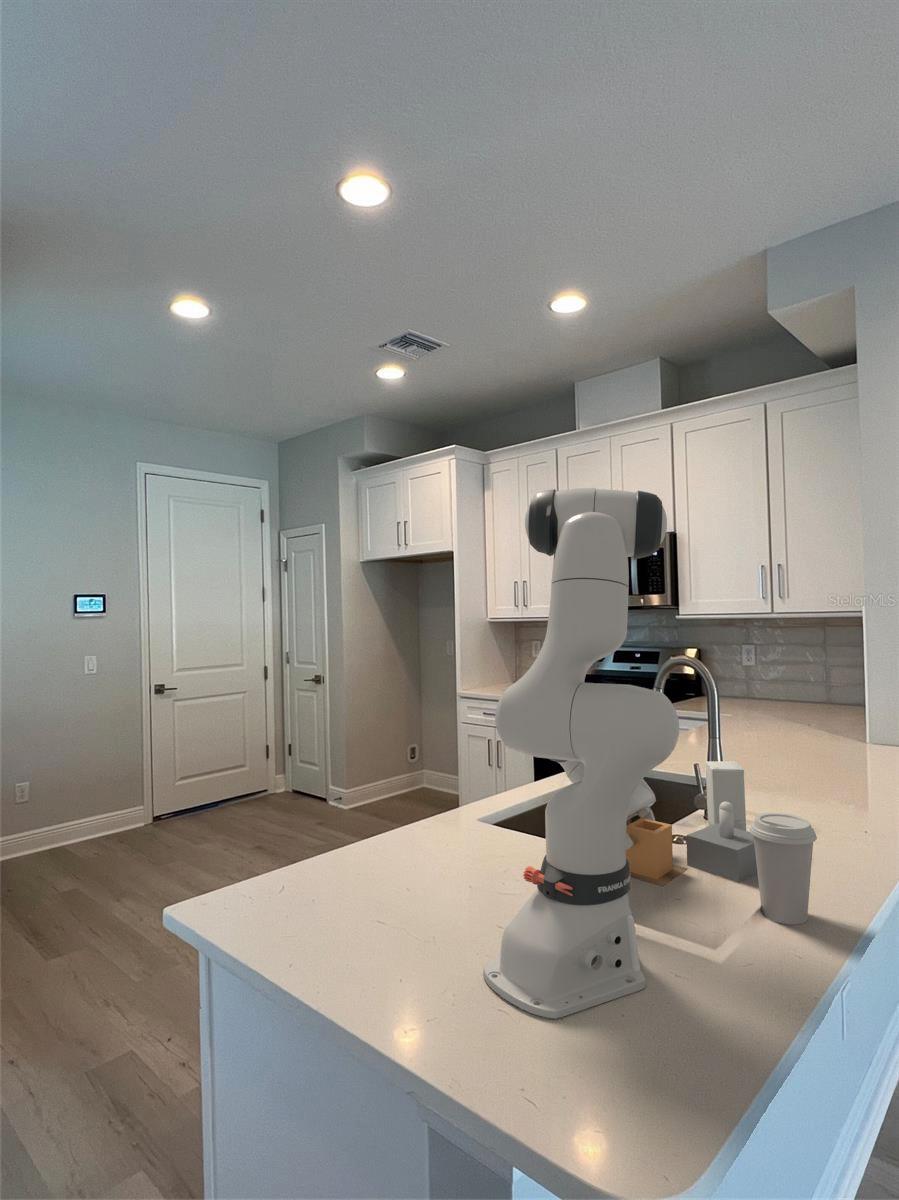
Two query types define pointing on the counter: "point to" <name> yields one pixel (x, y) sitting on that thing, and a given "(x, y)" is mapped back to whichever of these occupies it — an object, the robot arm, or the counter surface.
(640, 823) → the sleeve
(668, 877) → the stand
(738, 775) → the skincare box
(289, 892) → the counter surface
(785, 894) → the coffee cup
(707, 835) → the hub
